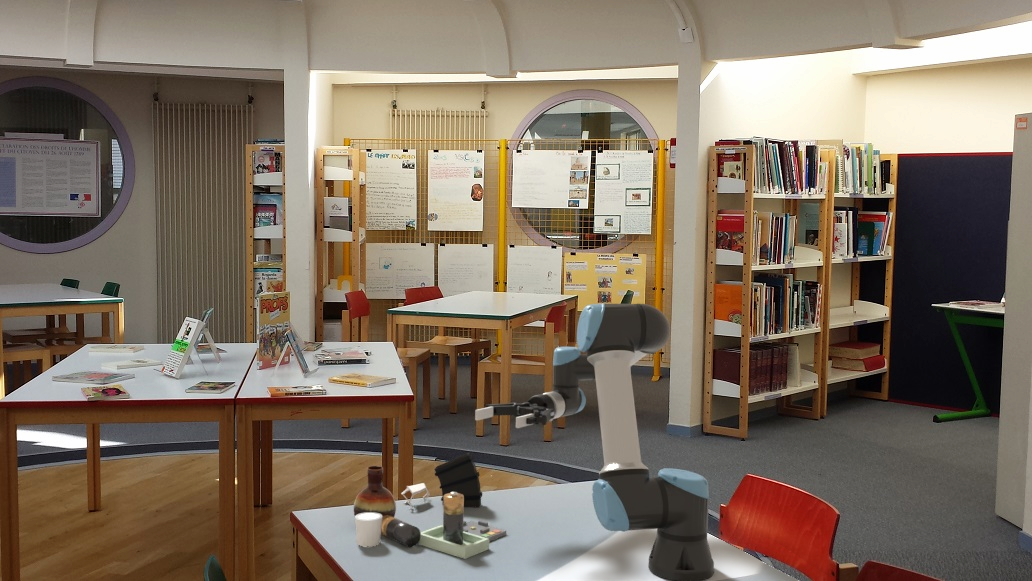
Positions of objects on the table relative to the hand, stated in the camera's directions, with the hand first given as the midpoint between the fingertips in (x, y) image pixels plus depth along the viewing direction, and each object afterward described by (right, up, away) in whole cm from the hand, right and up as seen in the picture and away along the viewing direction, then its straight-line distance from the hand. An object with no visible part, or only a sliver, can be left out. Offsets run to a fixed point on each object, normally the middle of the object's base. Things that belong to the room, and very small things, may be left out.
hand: (496, 418), depth 239 cm
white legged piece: (-24, -28, +25) cm, 45 cm away
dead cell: (-25, -30, -5) cm, 39 cm away
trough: (-11, -31, -9) cm, 33 cm away
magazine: (-11, -28, +25) cm, 40 cm away
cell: (-11, -30, -9) cm, 33 cm away
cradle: (-5, -30, +1) cm, 30 cm away
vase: (-32, -29, +7) cm, 44 cm away
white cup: (-32, -30, -8) cm, 44 cm away
